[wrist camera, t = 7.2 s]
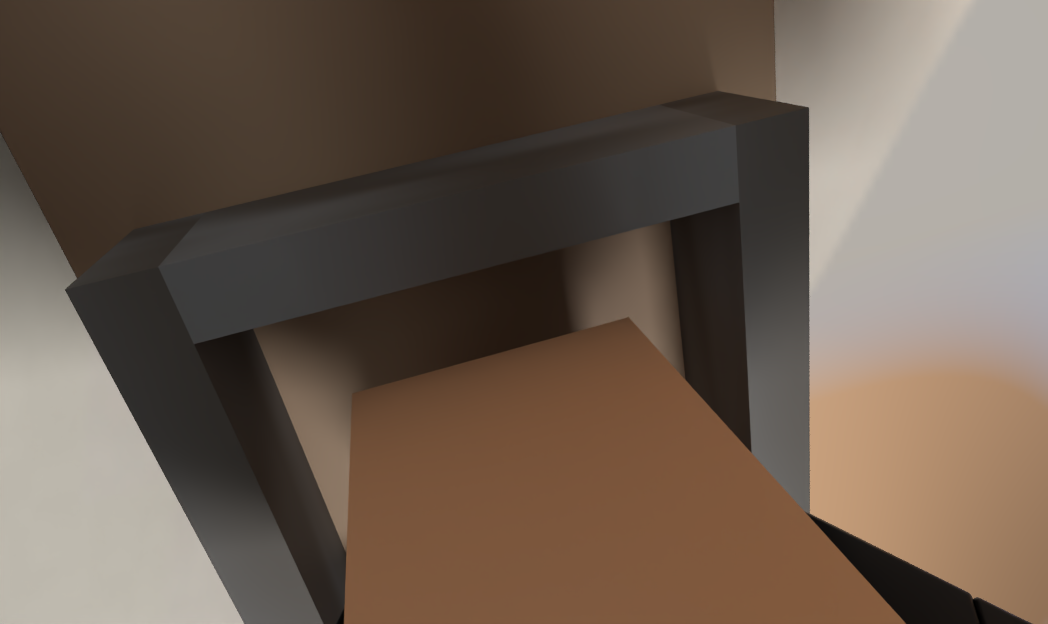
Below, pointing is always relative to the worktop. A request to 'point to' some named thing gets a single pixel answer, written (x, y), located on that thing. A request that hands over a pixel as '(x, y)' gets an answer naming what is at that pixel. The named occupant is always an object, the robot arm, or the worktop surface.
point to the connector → (576, 501)
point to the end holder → (403, 225)
